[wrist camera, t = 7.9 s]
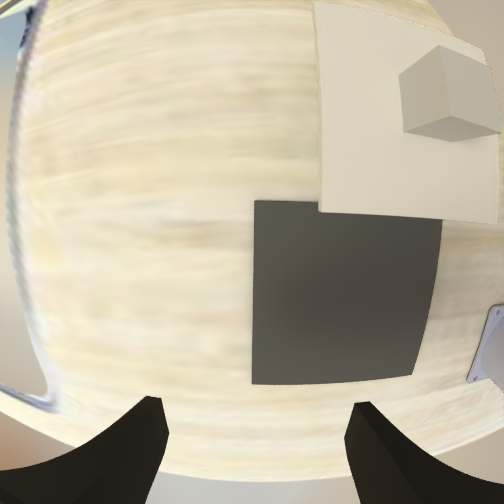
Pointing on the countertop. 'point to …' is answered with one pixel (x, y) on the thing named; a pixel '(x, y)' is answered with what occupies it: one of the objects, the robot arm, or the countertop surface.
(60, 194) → the countertop surface
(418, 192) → the cover
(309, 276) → the mat
